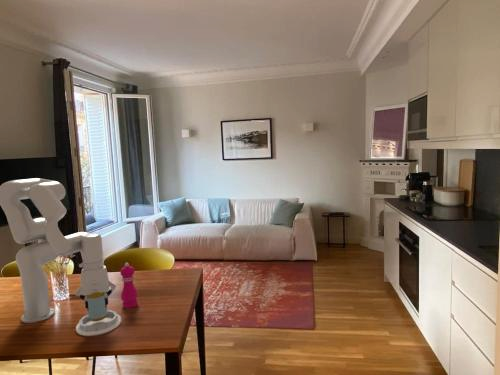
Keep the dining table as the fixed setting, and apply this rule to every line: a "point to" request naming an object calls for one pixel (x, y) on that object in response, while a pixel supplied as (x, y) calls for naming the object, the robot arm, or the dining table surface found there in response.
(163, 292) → the dining table surface
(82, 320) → the collar base
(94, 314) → the bottle
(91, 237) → the robot arm
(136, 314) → the dining table surface
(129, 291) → the pepper mill
